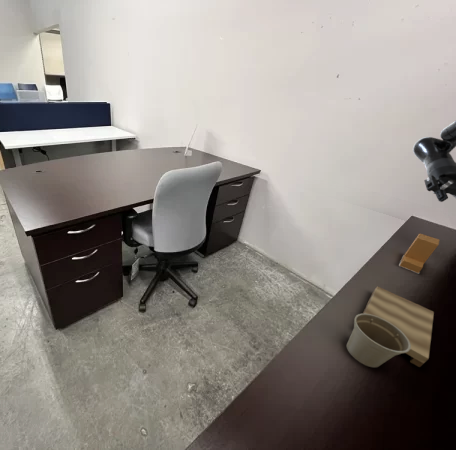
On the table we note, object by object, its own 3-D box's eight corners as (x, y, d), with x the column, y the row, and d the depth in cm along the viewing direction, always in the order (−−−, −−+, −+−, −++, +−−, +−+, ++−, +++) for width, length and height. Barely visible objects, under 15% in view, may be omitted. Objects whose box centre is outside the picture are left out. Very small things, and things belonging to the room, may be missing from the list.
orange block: (402, 257, 92) (419, 232, 87) (421, 264, 89) (440, 239, 84) (397, 267, 86) (415, 241, 81) (417, 275, 83) (438, 249, 78)
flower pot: (390, 357, 55) (412, 333, 51) (385, 386, 49) (409, 362, 45) (343, 330, 61) (359, 306, 57) (333, 353, 55) (350, 329, 51)
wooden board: (370, 295, 73) (377, 286, 71) (424, 322, 65) (434, 311, 63) (353, 332, 61) (361, 321, 59) (417, 369, 53) (428, 358, 51)
